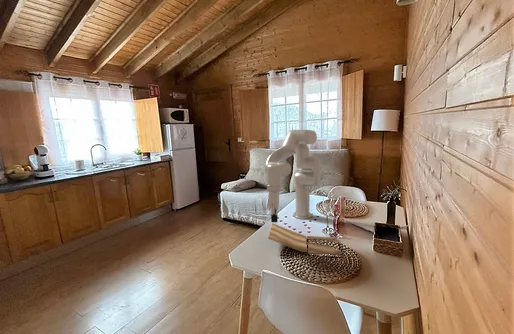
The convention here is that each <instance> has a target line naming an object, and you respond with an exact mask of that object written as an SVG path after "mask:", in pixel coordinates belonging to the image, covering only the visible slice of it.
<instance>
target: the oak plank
mask: <svg viewBox="0 0 514 334" xmlns="http://www.w3.org/2000/svg"><path fill="white" fill-rule="evenodd" d="M271 223H272V224H271V227H270V230H269V235H268V238H267V239H269V240H271V241H273V242H275V243H279V244H280V245H282V246H286V247H288V248H291V249H294V250H296V251H298V252H301V253H303V252H306V253H308V248H307V236H306V235H304V234H301V233H299V232H296V231H294V230H292V229H288V228H286V227H283V226H280V225H278V224H275V223H274V222H271Z"/></svg>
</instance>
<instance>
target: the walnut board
mask: <svg viewBox="0 0 514 334" xmlns="http://www.w3.org/2000/svg"><path fill="white" fill-rule="evenodd" d="M307 239H325V240H329V241H333V242H336V243H338V244H339V240H338V238H337V237H333V236H317V235H307V236H306V240H307ZM306 242H307V241H306ZM307 245H308V248H307V255H308V254H330V255H331V254H334V255H336V254H337V255H340V253H342V251H341V249H340V250H338V249H337V250H336V249H335V248H334V249H333V247H330V246H328V245H322V244H321V245H320V244H314V243H313V242H312V243H310V242H309V243H308V242H307Z"/></svg>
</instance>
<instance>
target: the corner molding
mask: <svg viewBox="0 0 514 334" xmlns="http://www.w3.org/2000/svg"><path fill="white" fill-rule="evenodd" d="M343 219H344V220H343V221H344V222H347V223H349V224H352V225H355V226H357V227H360V228H363V230H366V231H368V232H371V233H375V231H374V224H375V223H368V222H361V221H355V220H351V219H346V218H343ZM399 226H400V228H399V229H401V228H406V227H409V225H408V224H407V225H399Z"/></svg>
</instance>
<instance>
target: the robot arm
mask: <svg viewBox="0 0 514 334" xmlns="http://www.w3.org/2000/svg"><path fill="white" fill-rule="evenodd" d="M317 139H318V135H317V133H316V131H315V130H310V129H292V130H289V131H288V132H287V133H286V136H285V138H284V140H283V141H282V145H281V146H280V147H279V148H277V149H276V150H274V151H273V152H272V153H270V155H269V156H268V158H267V160H266V162H265V164H264V172H265V173H266V191H267V192H268V199H267V200H268V201H267V202H268V203H267V205H268V206H267V207H268V208H267V211H271V212H270V213H271V215H270V217H271V219H270V221H271V223H278V221H279V220H278V211H279V207H280V192H282V177H283V178H284V177H288V176H289V175H290V174H291V173H292V166H291V164H290V163H289V162H287V161H285V162H284V161H282V160H284V159H287V158H289V157H292V156H294V155H295V154H296V155H295V161H296V162H295V164H296V168H297V169H298V170H301V171H296V173H295V174H294V175H293V176H294V177H293V178H294V185H295V187H294V188H295V212H293V214H292V215H293V217H294V218H296V219H300V220H308V219H310V218H312V213H311V212H310V200H311V199H310V196H311V195H310V193H311V192H310V189H309V188H308V187H316V188H317V187H319V186H320V184H321V176H322V175H321V172H322V171H321V170H322V169H321V166H322V165H321V164H322V163H321V160H320V157H318V156H315V155H310V147H309V146H308V145H314V144H315V143H316V141H317ZM280 160H281V161H280Z"/></svg>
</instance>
